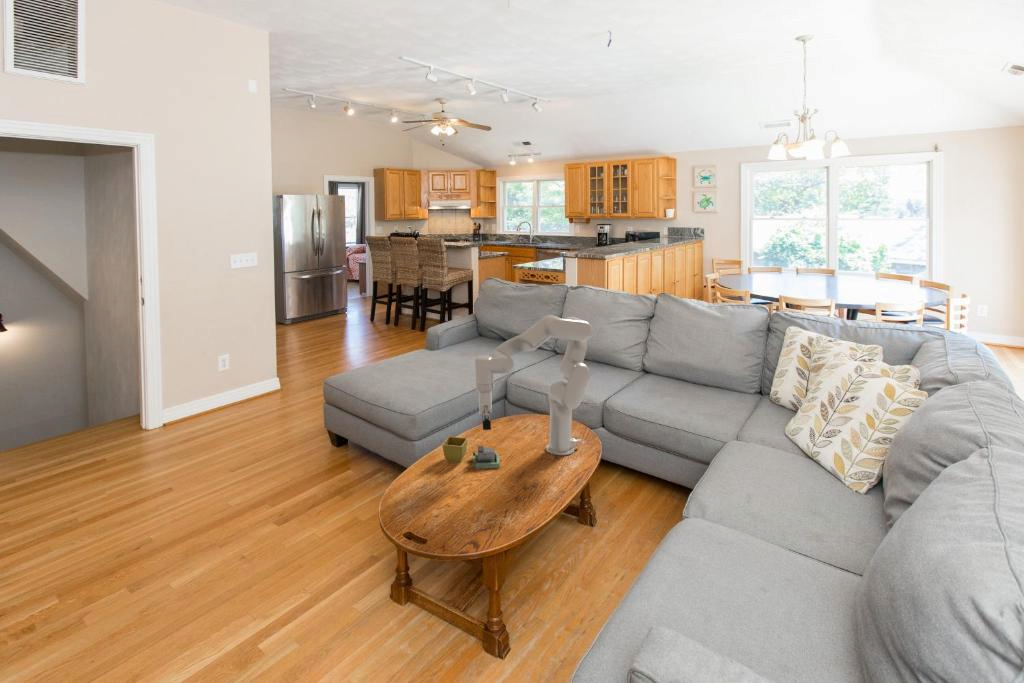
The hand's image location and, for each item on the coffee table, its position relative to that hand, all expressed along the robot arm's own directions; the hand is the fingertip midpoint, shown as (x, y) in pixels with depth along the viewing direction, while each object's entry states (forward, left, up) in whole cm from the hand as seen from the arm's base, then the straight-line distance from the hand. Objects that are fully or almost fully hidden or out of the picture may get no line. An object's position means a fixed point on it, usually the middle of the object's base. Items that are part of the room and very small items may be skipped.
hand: (486, 425), depth 237 cm
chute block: (0, 0, -17) cm, 17 cm away
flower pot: (+11, -8, -17) cm, 22 cm away
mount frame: (0, 0, -17) cm, 17 cm away
